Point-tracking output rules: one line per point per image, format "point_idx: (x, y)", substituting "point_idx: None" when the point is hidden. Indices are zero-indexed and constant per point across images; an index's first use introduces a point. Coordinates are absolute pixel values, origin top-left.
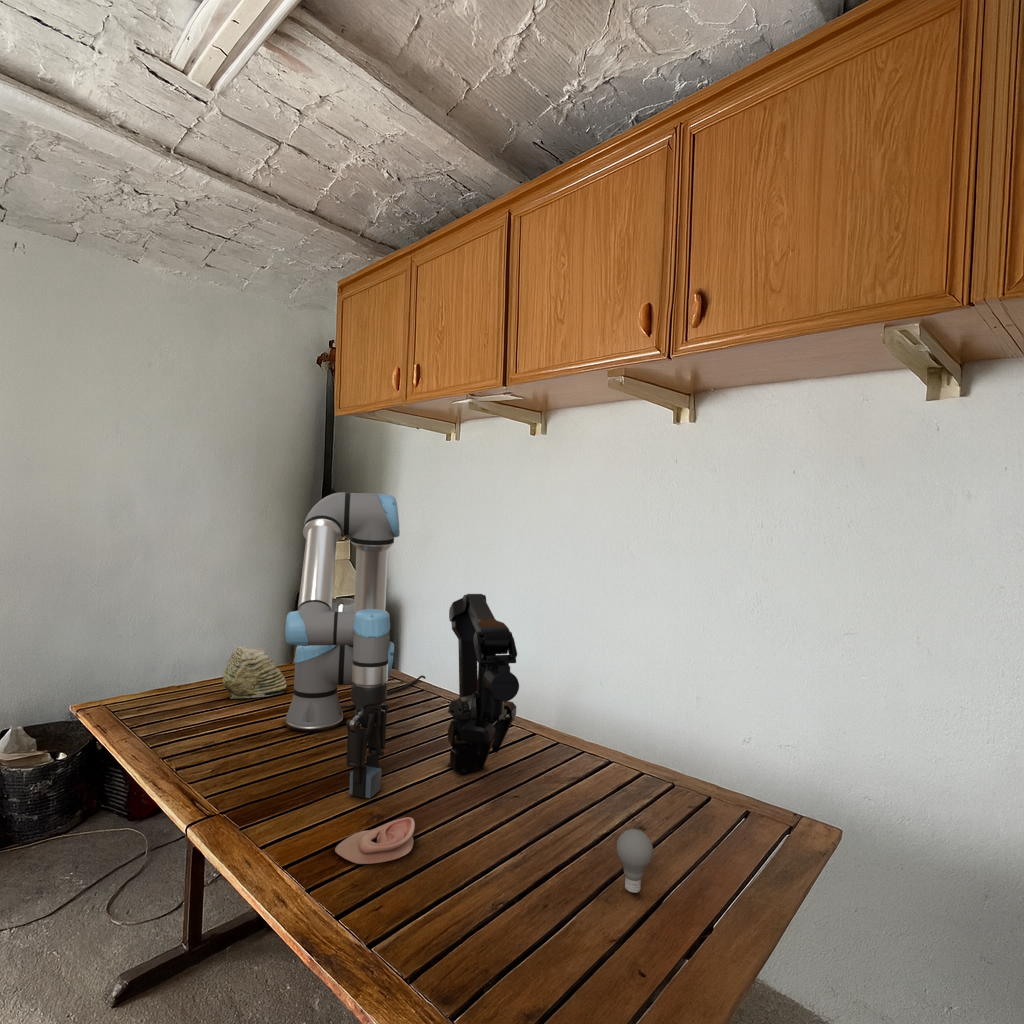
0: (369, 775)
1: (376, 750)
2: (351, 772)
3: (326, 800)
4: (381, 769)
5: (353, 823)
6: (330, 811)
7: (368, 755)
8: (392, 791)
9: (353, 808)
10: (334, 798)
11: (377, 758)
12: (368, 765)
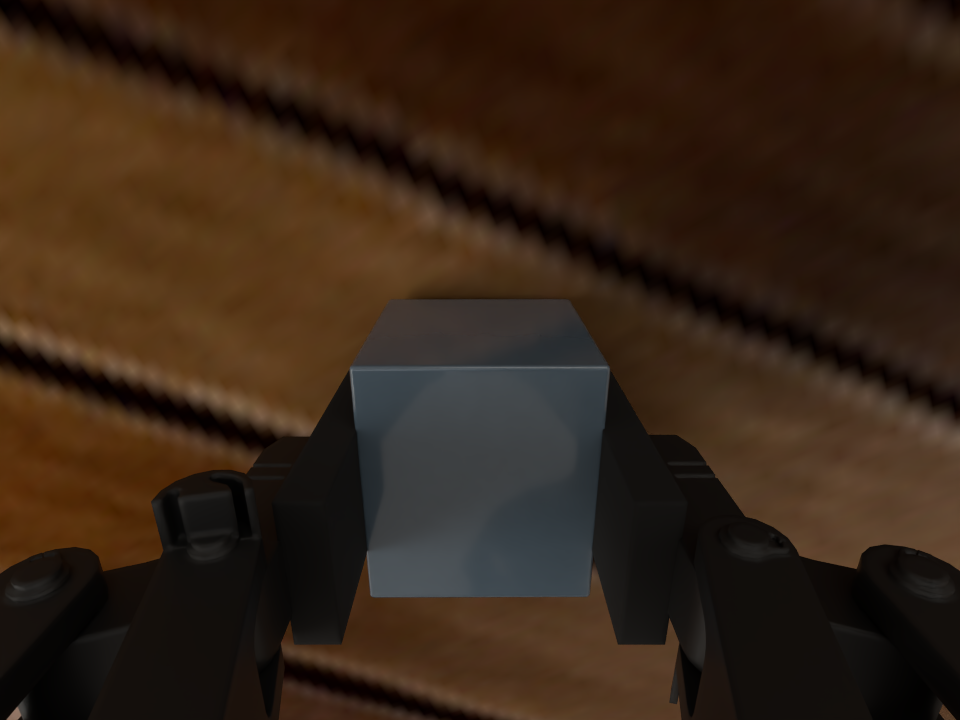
0: (391, 573)
1: (686, 695)
2: (365, 378)
3: (233, 163)
4: (582, 593)
5: (91, 520)
6: (114, 303)
7: (658, 520)
8: None
9: (246, 425)
10: (298, 207)
11: (621, 636)
12: (602, 463)
